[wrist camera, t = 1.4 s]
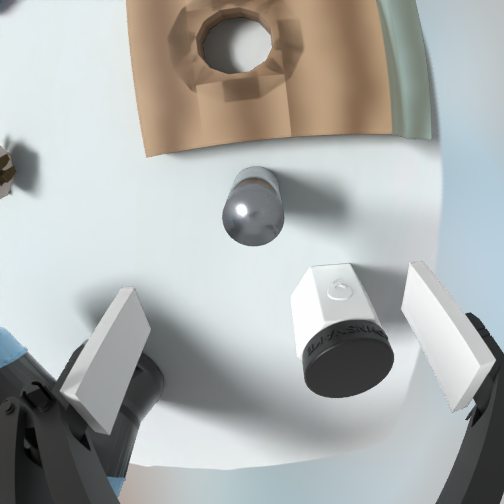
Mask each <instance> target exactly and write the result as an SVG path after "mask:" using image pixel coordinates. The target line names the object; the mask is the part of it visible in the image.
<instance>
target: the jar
mask: <svg viewBox="0 0 504 504" xmlns="http://www.w3.org/2000/svg"><path fill="white" fill-rule="evenodd" d="M291 306H292V315H293V323H294V332H295V341H296V351H297V356H298V357H299V358H300V360H301V361H302V362H303V371H304V379H305V383H306V385H307V387H308V388H309V389H310V390H311V391H313V392H314V393H316V394H318V395H320V396H324V397H329V398H343V397H350V396H354V395H357V394H360V393H363V392H365V391H367V390H369V389H371V388H373V387H374V386H376V385H377V384H379V383H380V382H381V381H382V380H383V379H384V378H385V377H386V376H387V375H388V373H389V372H390V370H391V368H392V366H393V362H394V353H393V350H392V348H391V346H390V343H389V341H388V337H387V335H386V334H385V332H384V330H383V327H382V325H381V323H380V321H379V318H378V316H377V314H376V312H375V310H374V307H373V305H372V303H371V301H370V299H369V297H368V295H367V293H366V290H365V289H364V287H363V285H362V283H361V282H360V280H359V278H358V276H357V275H356V273H355V271H354V269H353V268H352V266H351V265H350V264H338V265H325V266H312V267H309V269H308V270H307V272H306V274H305V275H304V277H303V278H302V280H301V282H300V283H299V285H298V286H297V288H296V289H295V291H294V292H293V294H292V296H291Z"/></svg>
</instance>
